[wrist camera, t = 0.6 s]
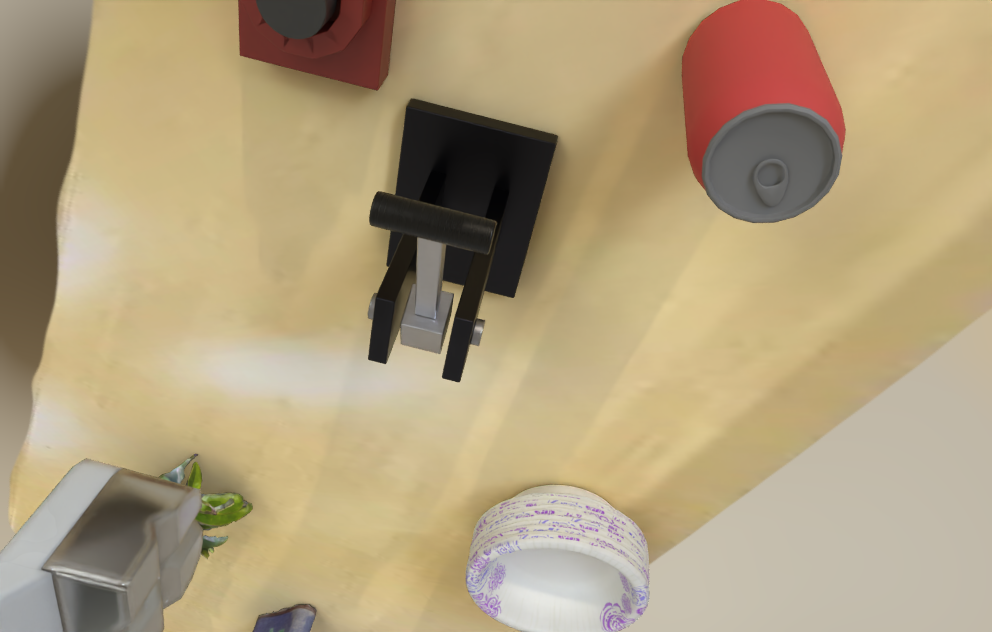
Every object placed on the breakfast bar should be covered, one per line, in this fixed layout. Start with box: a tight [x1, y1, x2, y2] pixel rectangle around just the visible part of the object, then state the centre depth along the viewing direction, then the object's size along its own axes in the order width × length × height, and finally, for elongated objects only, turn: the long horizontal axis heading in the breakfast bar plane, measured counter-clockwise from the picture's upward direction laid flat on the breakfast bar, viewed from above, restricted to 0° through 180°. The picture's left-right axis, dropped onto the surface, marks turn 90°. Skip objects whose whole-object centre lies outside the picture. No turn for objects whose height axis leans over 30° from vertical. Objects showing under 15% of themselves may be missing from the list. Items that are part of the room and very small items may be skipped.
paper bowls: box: [466, 485, 649, 632], centre depth 66 cm, size 15×15×8 cm
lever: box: [369, 191, 497, 354], centre depth 36 cm, size 12×5×2 cm, turn 169°
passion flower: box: [159, 454, 253, 559], centre depth 71 cm, size 11×11×12 cm
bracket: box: [368, 99, 558, 382], centre depth 44 cm, size 12×9×14 cm
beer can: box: [682, 0, 846, 223], centre depth 37 cm, size 7×7×12 cm
